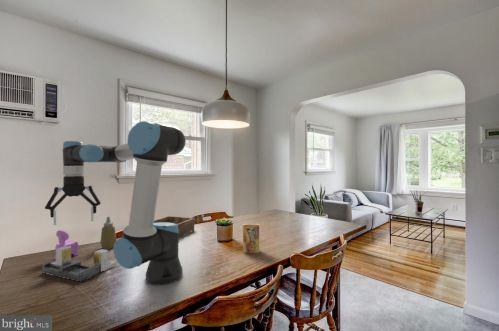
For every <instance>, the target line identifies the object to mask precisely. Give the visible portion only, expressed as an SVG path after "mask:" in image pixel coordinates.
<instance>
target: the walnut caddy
mask: <svg viewBox="0 0 499 331" xmlns="http://www.w3.org/2000/svg"><path fill="white" fill-rule="evenodd" d="M159 222H167V223H174V224H177V226H178V232H179V237H180V238H182V237H185V235H188V234H190V233H192V232H194V231H195V217H185V216H183V217H182V216H175V215H167V216H164V217H161V218H158V219H154V223H159ZM179 237H178V239H179Z"/></svg>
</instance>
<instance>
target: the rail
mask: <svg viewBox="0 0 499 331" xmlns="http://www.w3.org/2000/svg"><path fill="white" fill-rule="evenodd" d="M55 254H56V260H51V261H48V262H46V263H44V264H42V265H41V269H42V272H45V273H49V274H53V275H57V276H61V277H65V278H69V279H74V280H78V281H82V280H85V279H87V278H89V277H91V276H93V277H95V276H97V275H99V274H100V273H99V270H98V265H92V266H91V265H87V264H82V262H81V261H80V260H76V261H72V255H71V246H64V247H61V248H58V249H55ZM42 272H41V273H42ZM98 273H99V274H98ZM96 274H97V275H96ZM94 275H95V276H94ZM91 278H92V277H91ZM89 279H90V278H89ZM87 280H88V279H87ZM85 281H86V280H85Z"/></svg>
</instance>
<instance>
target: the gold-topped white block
mask: <svg viewBox="0 0 499 331" xmlns="http://www.w3.org/2000/svg"><path fill="white" fill-rule="evenodd" d="M116 262H117V261H113V260H109V249H103V248H102V249H99V250H96V251H94V253H93V263H94V265H98V270H99V272H102V271H104V272H106V271H108V270H110V269H112V268H111V267H113V268H115V267H116V266H117V265H116V264H117V263H116ZM94 265H93V266H94ZM114 266H115V267H114ZM109 268H110V269H109ZM107 269H108V270H107ZM105 270H106V271H105ZM102 273H103V272H102Z"/></svg>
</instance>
